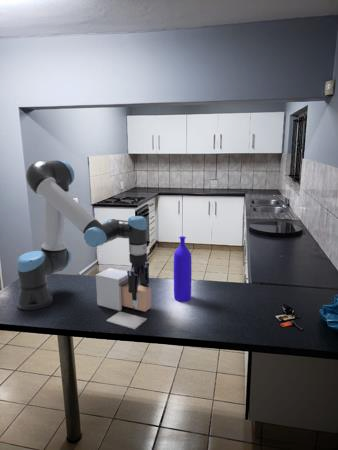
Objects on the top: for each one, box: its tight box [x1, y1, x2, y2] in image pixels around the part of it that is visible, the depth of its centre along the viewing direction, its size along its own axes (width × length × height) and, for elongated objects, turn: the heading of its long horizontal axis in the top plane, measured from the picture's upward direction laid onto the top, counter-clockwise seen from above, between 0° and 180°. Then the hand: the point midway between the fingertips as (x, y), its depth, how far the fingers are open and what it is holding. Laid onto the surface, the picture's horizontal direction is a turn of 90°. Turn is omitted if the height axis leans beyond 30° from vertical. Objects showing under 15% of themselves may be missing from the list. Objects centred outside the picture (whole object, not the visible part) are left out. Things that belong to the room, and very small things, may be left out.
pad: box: [106, 310, 148, 330], centre depth 140 cm, size 14×9×1 cm, turn 61°
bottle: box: [173, 236, 192, 303], centre depth 156 cm, size 8×8×30 cm
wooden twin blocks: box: [121, 283, 152, 312], centre depth 149 cm, size 16×5×9 cm, turn 61°
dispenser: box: [95, 267, 128, 312], centre depth 154 cm, size 13×10×14 cm
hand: (139, 303), depth 148 cm, fingers closed on wooden twin blocks, 5 cm apart
